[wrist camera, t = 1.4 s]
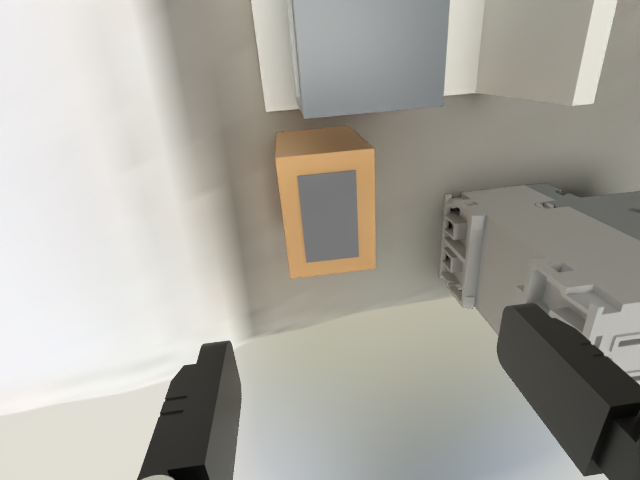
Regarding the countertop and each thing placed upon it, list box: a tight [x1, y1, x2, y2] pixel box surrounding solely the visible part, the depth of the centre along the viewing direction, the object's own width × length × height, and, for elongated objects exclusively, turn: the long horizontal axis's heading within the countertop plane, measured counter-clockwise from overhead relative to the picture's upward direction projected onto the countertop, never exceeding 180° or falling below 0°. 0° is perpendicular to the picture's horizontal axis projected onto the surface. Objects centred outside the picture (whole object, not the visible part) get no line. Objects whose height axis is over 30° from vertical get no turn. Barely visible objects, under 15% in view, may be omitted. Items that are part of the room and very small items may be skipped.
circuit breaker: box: [439, 183, 640, 385], centre depth 24 cm, size 8×14×15 cm, turn 95°
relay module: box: [275, 126, 376, 279], centre depth 23 cm, size 5×7×8 cm
